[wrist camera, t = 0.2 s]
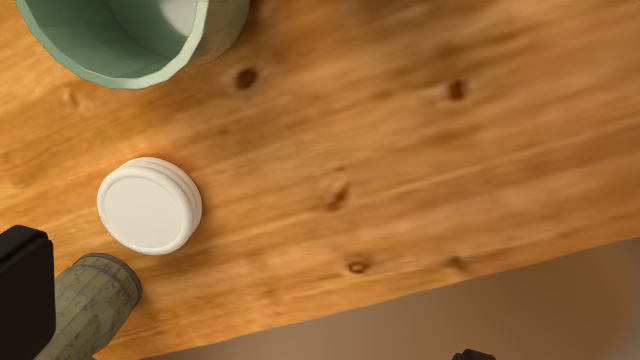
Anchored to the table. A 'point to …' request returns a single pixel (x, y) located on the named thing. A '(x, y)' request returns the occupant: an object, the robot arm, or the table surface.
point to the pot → (134, 36)
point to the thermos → (90, 306)
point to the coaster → (149, 205)
